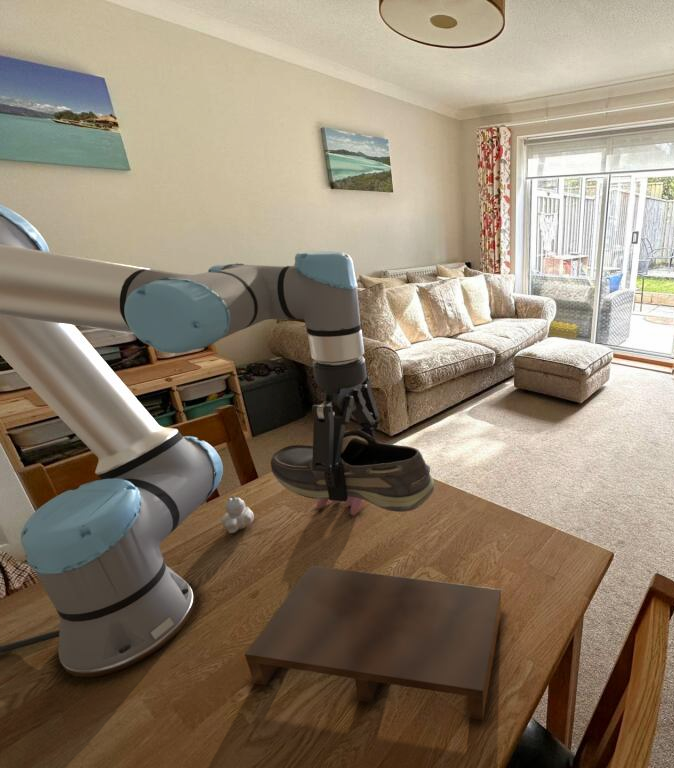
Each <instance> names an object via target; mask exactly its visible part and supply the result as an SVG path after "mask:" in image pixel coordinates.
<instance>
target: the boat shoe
mask: <svg viewBox="0 0 674 768" xmlns="http://www.w3.org/2000/svg"><path fill="white" fill-rule="evenodd" d="M312 460H313V445H308V444H307V445H306V444H293V445H287V446H284V447H283V448H281V449H279V450H278V451H276V452H275V453H273V455H272V457H271V460H270V468H271V472H272V475H273V476H274V478H275V479H276V480H277V481H278V482H279V484H281V486H283V487H284V488H285V489H287V490H288V491H290V492H292V493H294V494H296V495H298V496H301V497H304V498H307V499H313V500H318V499H328V498H329V495H328V489H327V485H326V481H325V475H324V472H322V471H313V469H312ZM339 464H343V470H344V476H345V483H346V490H347V497H356V498H360V499H363V501H366V502H368V503H369V504H372V505H374V506H377V507H378V508H380V509H383V510H385V511H390V512H397V513H400V512H401V513H402V512H403V513H405V512H411V511H415V510H416V509H417V508H419V507H421V506H422V505H423V504H424V503H425V502H426V501H427V500H428V499H429V498H430V497H431V495H433V493H434V490H435V488H436V487H435V481H434V478H433V477H432V475H431V474H430V473H431V466H430V465H428V464H427V463H426V461H425V459H424V457H423V455H422V453H421V451H420V450H419V449H418V448H415V447H413V446H409V445H400V444H391V443H384V442H380V441H377V440H376V437H375V438H373V437H372V436H370V435H368V434H367V433H365V432H363V431H361V430H359V428H358V429H357V428H356V429H351V430H346V431H345V430H344V436H343V442H342V448H341V455H340V461H339Z"/></svg>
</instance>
